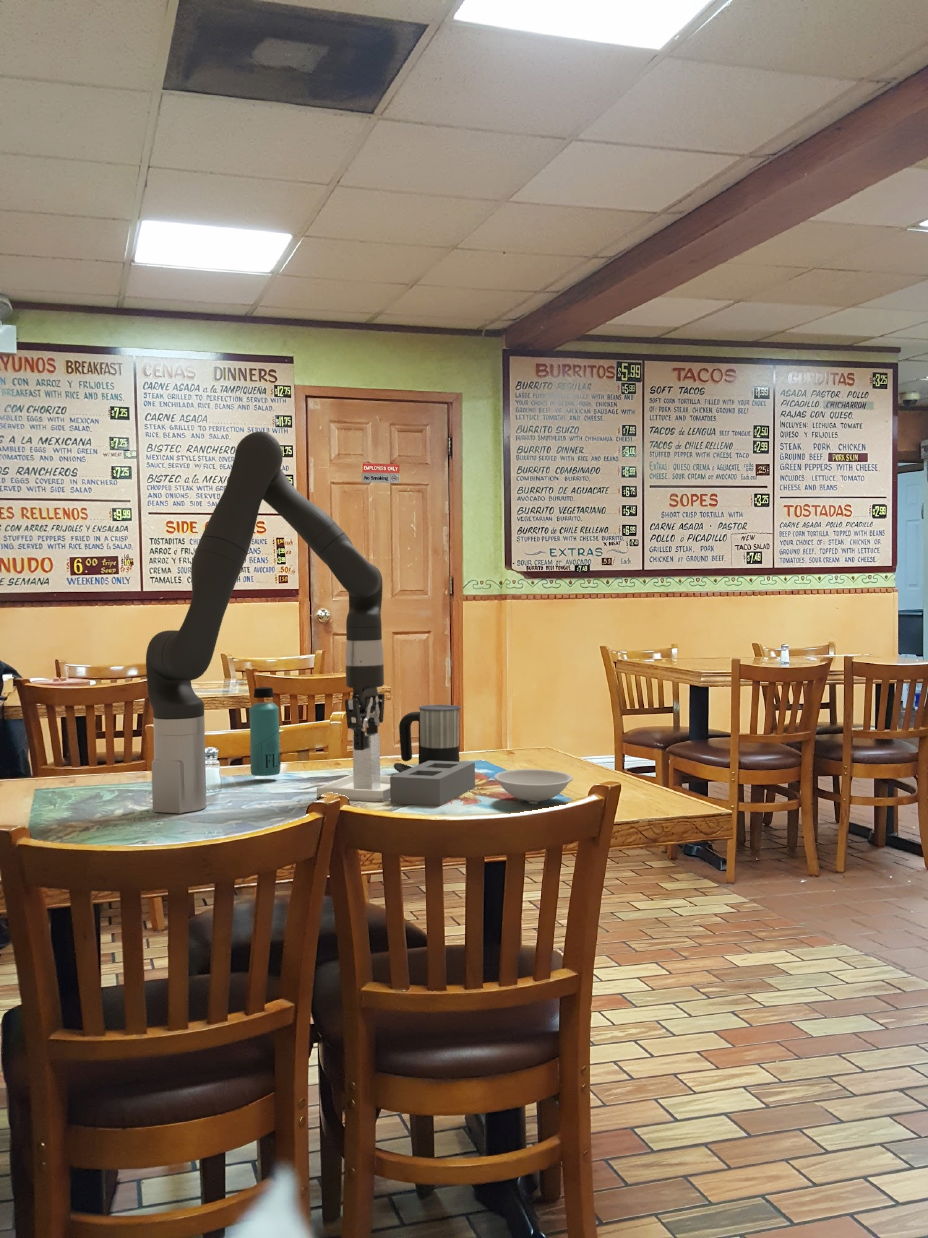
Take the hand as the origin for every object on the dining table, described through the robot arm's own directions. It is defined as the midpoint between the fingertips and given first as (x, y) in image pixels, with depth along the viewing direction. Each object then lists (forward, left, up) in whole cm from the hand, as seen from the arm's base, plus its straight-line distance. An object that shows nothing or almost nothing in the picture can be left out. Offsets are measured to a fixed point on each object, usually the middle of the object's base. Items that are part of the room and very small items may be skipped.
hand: (366, 747), depth 213 cm
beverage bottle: (+7, +27, -9) cm, 29 cm away
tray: (0, 0, -9) cm, 9 cm away
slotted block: (+1, -14, -9) cm, 17 cm away
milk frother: (+20, -5, -9) cm, 23 cm away
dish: (-2, -35, -9) cm, 36 cm away
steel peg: (0, 0, -8) cm, 8 cm away
